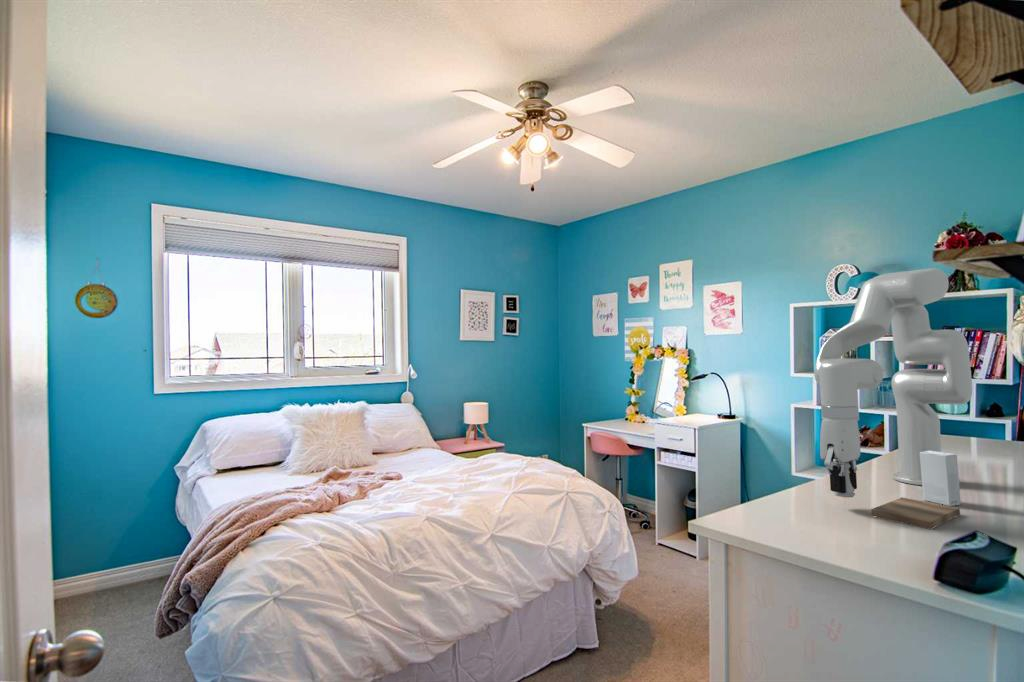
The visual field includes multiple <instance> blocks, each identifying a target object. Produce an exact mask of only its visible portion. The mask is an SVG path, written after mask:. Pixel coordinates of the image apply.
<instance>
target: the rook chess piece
mask: <svg viewBox="0 0 1024 682" xmlns="http://www.w3.org/2000/svg"><path fill="white" fill-rule="evenodd" d="M835 462H838V461H837V460H835ZM834 465H835V466H837V467H838V469H839V465H837V464H834ZM850 467H851V466H850V465H849V462H846V463H844V474H843V476H845V478H846V493H839V492H834V491H832V493H833V494H834V495H835V496H837V497H839V498H854V497H855V495H856V493H855V490H856V489H854V488H853V487H852V485H851V482H850V478H849V473H850V472H849V468H850Z"/></svg>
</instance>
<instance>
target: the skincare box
mask: <svg viewBox="0 0 1024 682" xmlns="http://www.w3.org/2000/svg"><path fill="white" fill-rule="evenodd" d="M920 462H921V474H922V485H921V486H922V495H923V496H922V497H923V498H922V499H923V501H924V502H929V501H930V502H929V503H935V504H940V505H942V504H943V505H945V506H950V507H955V505H957V506H960V505H961V493H960V492H961V491H960V489H961V488H960V477H959V465H958V455H957V454H956V453H949V452H942V451H941V452H936V451H924V452H920Z"/></svg>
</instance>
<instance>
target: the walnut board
mask: <svg viewBox="0 0 1024 682" xmlns="http://www.w3.org/2000/svg"><path fill="white" fill-rule="evenodd" d="M870 514H871V515H870V516H871V517H874V516H876V517H875V518H879V517H880V518H879V519H883V518H884V520H888V519H889V521H892V520H893V521H892V522H896V521H898V522H897V523H901V522H903V523H902V524H905V523H907V524H906V525H910V524H911V525H910V526H914V525H915V526H914V527H919V528H923V527H925V528H924V529H927V528H930V529H929V530H932V529H931V528H933V527H935V526H937V525H939V524H941V523H943V522H945V521H947V520H949V519H951V518H953V517H955V516H957V517H958V515H959V516H960V515H961V511H960V508H959V507H957V506H956V507H955V506H947V505H942V504H938V503H934V502H929V501H925V500H919V499H913V498H908V497H904V496H903V497H899V498H897V499H894V500H892V501H888V502H886V503H884V504H882V505H879V506H876V507H873V508H871V513H870ZM955 518H956V517H955ZM953 519H954V518H953ZM951 520H952V519H951ZM949 521H950V520H949ZM947 522H948V521H947ZM945 523H946V522H945ZM943 524H944V523H943ZM941 525H942V524H941ZM939 526H940V525H939ZM937 527H938V526H937ZM935 528H936V527H935ZM933 529H934V528H933Z"/></svg>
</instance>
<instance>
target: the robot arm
mask: <svg viewBox="0 0 1024 682" xmlns="http://www.w3.org/2000/svg"><path fill="white" fill-rule="evenodd" d="M948 290H949V278H948V275H947V274H946V273H945V271H944V270H942V269H940V268H937V267H932V268H921V269H915V270H914V269H913V270H906V271H905V270H904V271H897V272H890V273H884V274H880V275H877V276H874V277H872V278H870V279H868V280H866V281H864V283H863V284H862V286H861V288H860V291H859V293H858V297H857V300H856V302H855V305H854V309H853V311H852V314H851V317H850V321H849V322H848V323H847V324H845V325H844V326H842V327H841V328H840V329H838V330H837V331H836V332H834V333H833V334H832V335H831V336H830V337H829V338H827V339H826V341H825V342H824V343H823V344H822V346H821V348H820V349H819V353H818V355H817V358H816V361H815V366H814V370H813V374H814V380H815V381H816V384H818V385H819V390H820V410H821V413H820V414H821V419H822V420H821V424H820V436H819V438H820V439H819V440H820V441H819V450H820V451H819V454H820V457H819V458H820V459H821V461H824V463H823V464H824V466H825V467H826V468H827V470H828V474H829V484H830V487H829V488H830V492H833V491H834V492H839V493H846V478H845V476H843V474H844V463H846V462H849V465H850V466H851V467H850V468H849V472H850V473H849V478H850V482H851V485H852V487H853V488H854V490H857V488H858V483H857V471H858V467H857V464H858V460H859V458H860V456H861V438H860V437H861V436H860V429H859V423H858V421H860V412H859V395H858V394H859V393H858V390H864V391H867V390H873V389H875V388H877V387H879V385H881V383H882V382H883V379H884V369H883V368H882V366H881V364H880V363H879V362H878V361H876V360H874V359H870V358H842V357H843V356H844V355H845V354H846V353H848V352H850V351H852V350H854V349H856V348H858V347H861V346H865V345H867V344H870V343H873V342H874V341H877V340H879V339H882V338H884V337H885V336H886V335H887V334H888V333H889V330H890V326H891V332H892V342H893V349H894V350H893V351H894V355H895V358H896V360H897V361H898V362H899V363H902V364H905V365H915V366H916V365H920V366H921V365H922V366H925V365H933V366H937V365H938V366H939V365H940V366H943V367H944V368H942V369H941V368H939V369H938V368H937V369H936V368H906V369H901V370H899V371H896V372H895V373H894V374H893V376H892V378H891V381H890V382H891V383H890V384H891V390H892V394H893V398H894V401H895V407H896V409H895V410H896V422H897V445H898V447H897V448H898V449H897V450H898V468H899V469H898V471H897V472H894V473H893V474H892V478H893V479H894V480H896V481H898V482H901V483H905V484H911V485H917V486H922V474H921V462H920V452H924V451H936V452H942V441H941V440H942V439H941V421H940V417H939V415H938V414H937V412H936V411H935V410H934V409H933V408H932V407H931V406H930V404H932V405H933V404H935V405H937V404H938V405H954V406H955V405H959V406H960V405H965V404H967V403H969V402H970V400H972V396H973V381H972V370H971V360H970V359H971V357H970V351H969V344H968V341H967V338H966V337H965V335H964V334H963V333H962V332H960V331H958V330H955V329H932V328H931V324H930V319H929V318H930V317H929V312H928V310H927V309H926V307H925V305H929V304H932V303H936V302H937V301H939V300H941V299H943V298H944V297H945V295H946V294H947V292H948ZM836 461H838V462H836ZM835 464H837V465H839V469H838V467H837V466H835Z"/></svg>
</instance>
